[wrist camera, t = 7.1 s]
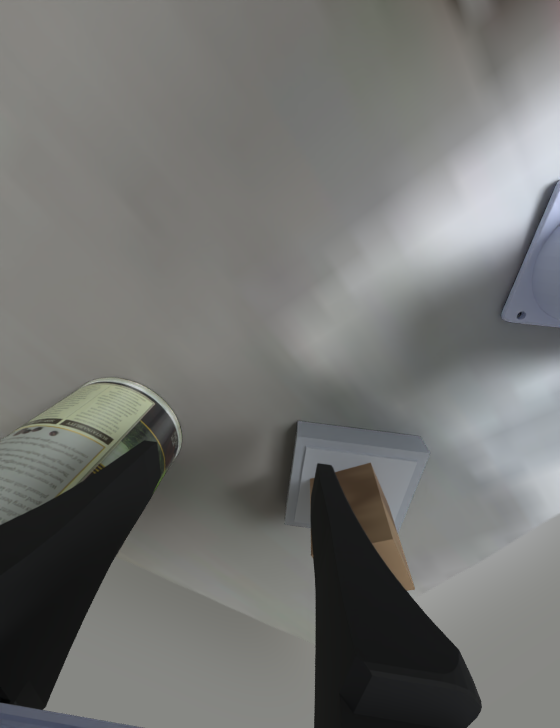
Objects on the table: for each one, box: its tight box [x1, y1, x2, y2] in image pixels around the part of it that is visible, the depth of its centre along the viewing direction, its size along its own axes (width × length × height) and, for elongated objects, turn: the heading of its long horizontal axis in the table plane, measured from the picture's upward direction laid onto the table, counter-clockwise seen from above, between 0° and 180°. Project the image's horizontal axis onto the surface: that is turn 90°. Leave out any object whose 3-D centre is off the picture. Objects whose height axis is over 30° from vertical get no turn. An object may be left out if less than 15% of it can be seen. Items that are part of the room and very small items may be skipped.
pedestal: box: [284, 421, 430, 533], centre depth 24 cm, size 10×10×2 cm
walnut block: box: [310, 463, 415, 591], centre depth 20 cm, size 5×5×6 cm
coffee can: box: [0, 377, 182, 562], centre depth 18 cm, size 10×10×14 cm
